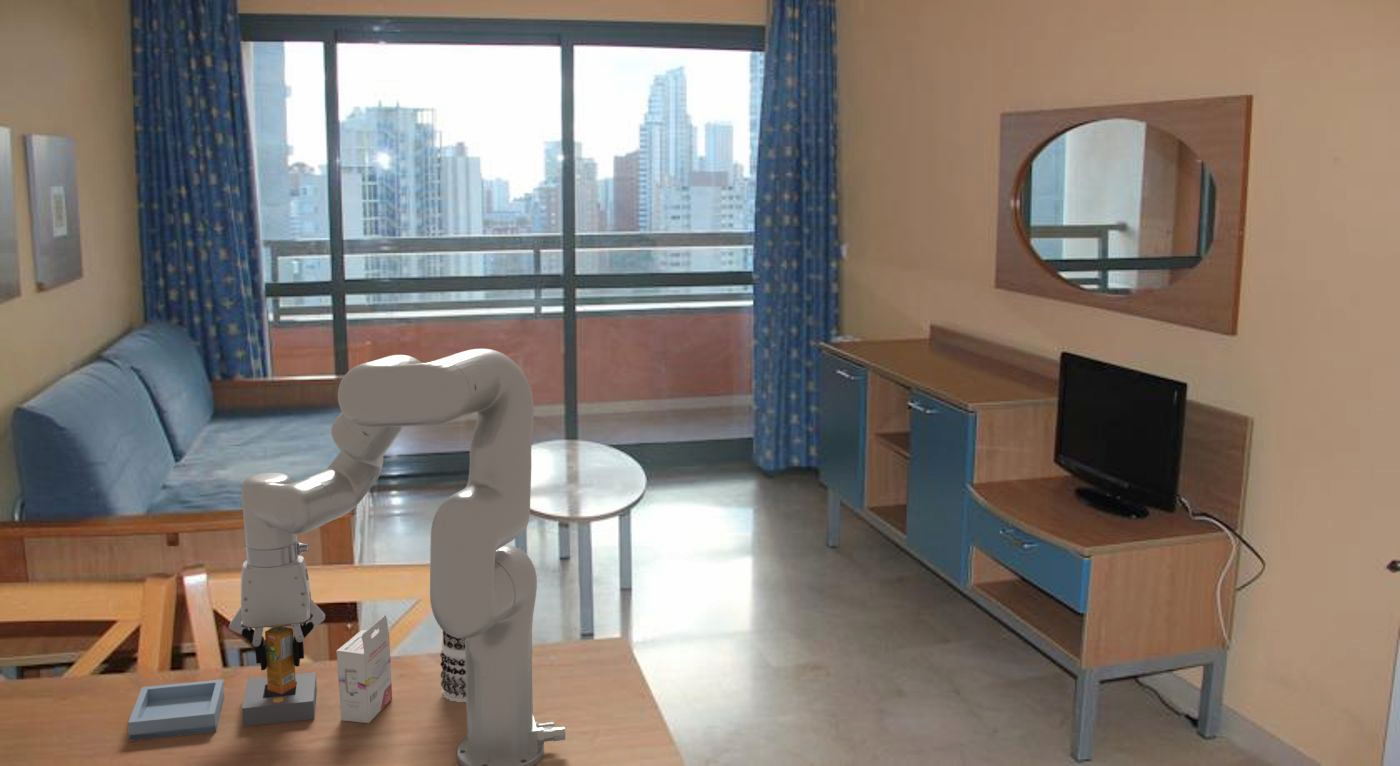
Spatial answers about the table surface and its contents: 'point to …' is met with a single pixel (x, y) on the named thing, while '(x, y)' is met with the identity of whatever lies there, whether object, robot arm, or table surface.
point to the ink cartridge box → (365, 673)
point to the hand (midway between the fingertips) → (280, 663)
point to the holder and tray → (216, 706)
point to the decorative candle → (453, 668)
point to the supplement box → (280, 659)
